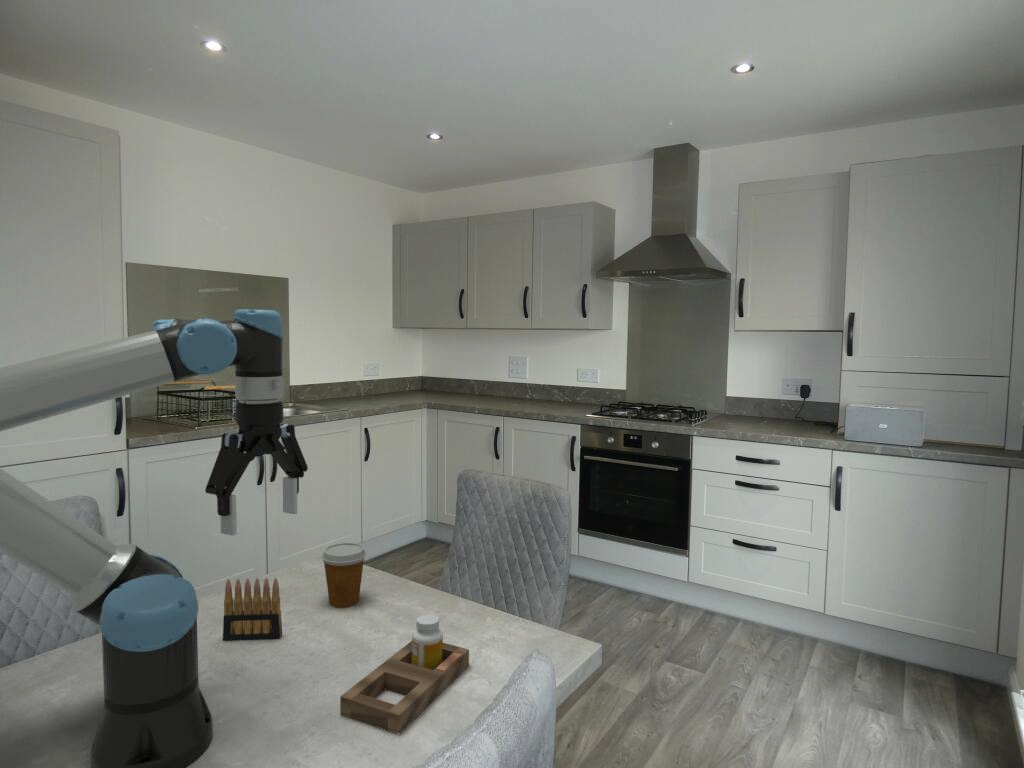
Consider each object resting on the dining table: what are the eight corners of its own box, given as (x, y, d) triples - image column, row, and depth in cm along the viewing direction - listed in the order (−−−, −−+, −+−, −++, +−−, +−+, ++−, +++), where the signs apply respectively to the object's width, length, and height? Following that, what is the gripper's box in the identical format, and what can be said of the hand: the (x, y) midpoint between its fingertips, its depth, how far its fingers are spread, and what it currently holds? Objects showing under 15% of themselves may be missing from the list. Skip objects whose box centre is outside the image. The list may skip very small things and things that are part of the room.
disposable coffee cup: (375, 599, 141) (375, 547, 140) (342, 615, 133) (342, 560, 132) (345, 589, 146) (345, 539, 145) (312, 604, 138) (312, 550, 137)
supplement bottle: (446, 667, 113) (448, 615, 113) (434, 682, 108) (435, 628, 108) (419, 662, 115) (420, 610, 114) (406, 677, 110) (407, 623, 109)
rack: (398, 734, 94) (398, 714, 94) (340, 714, 99) (340, 695, 99) (468, 665, 114) (469, 648, 114) (417, 651, 119) (417, 635, 118)
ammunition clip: (282, 634, 124) (281, 575, 123) (280, 639, 122) (279, 579, 121) (225, 636, 123) (224, 577, 122) (222, 641, 121) (221, 580, 120)
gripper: (213, 410, 94) (215, 548, 96) (327, 396, 117) (327, 507, 118) (178, 406, 97) (181, 540, 99) (296, 393, 120) (296, 502, 122)
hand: (261, 523), depth 109 cm, fingers open, 13 cm apart
